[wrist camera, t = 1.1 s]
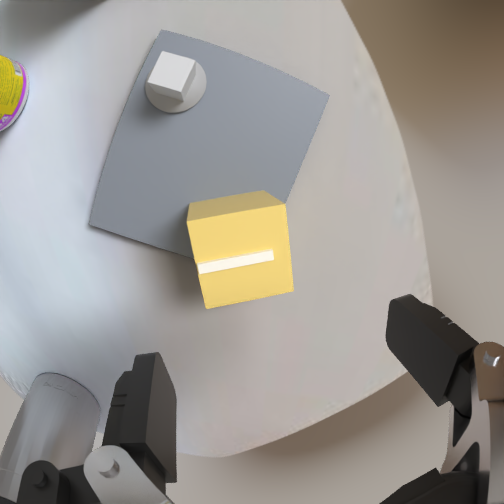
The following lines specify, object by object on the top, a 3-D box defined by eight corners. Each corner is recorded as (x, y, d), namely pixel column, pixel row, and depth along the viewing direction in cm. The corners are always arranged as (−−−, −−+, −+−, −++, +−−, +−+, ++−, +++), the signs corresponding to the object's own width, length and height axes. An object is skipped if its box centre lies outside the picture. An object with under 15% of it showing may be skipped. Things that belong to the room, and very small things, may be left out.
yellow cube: (272, 258, 24) (295, 293, 19) (203, 272, 24) (206, 311, 18) (263, 190, 22) (286, 205, 17) (189, 203, 22) (186, 222, 16)
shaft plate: (251, 271, 26) (264, 300, 21) (93, 220, 22) (69, 239, 17) (323, 97, 22) (354, 87, 17) (163, 34, 18) (155, 7, 13)
